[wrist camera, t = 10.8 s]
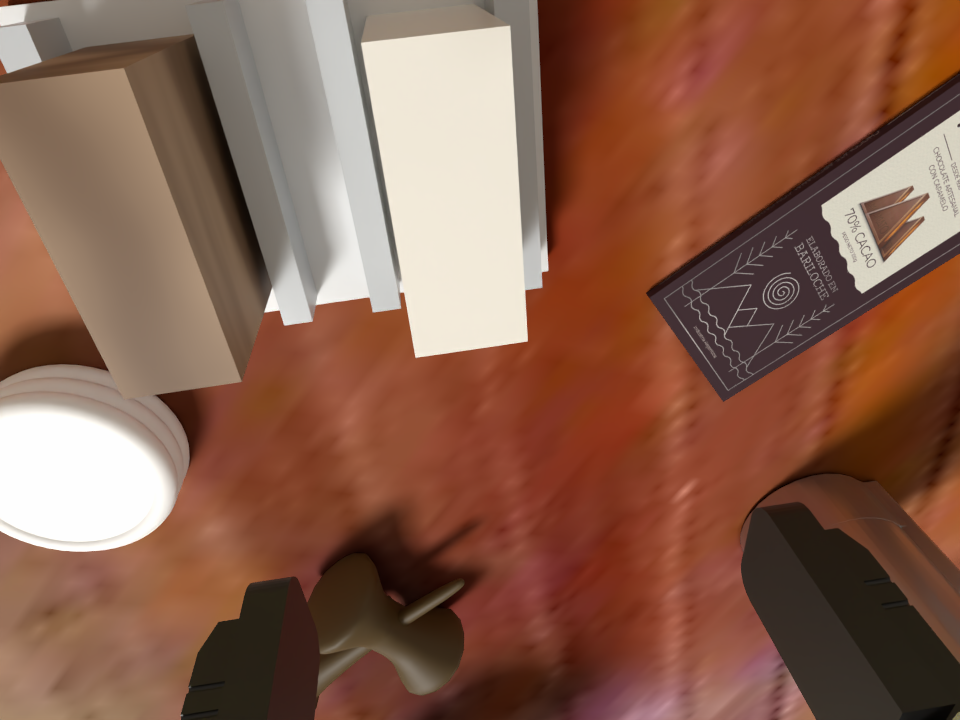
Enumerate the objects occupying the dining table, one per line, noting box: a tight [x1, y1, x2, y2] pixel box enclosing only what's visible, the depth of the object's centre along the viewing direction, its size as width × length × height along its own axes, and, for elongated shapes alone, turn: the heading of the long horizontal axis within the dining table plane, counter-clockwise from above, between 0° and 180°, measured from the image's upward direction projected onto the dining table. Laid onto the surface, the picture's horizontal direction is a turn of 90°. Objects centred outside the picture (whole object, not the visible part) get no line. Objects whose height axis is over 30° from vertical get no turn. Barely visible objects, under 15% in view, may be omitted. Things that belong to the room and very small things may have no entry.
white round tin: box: [0, 364, 190, 551], centre depth 32 cm, size 10×10×4 cm
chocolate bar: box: [646, 73, 960, 402], centre depth 33 cm, size 9×1×18 cm
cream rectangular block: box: [361, 4, 528, 358], centre depth 23 cm, size 4×10×8 cm, turn 5°
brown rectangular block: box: [0, 34, 272, 399], centre depth 22 cm, size 4×10×8 cm, turn 5°
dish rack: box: [0, 0, 548, 325], centre depth 25 cm, size 19×13×4 cm
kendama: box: [307, 553, 465, 709], centre depth 42 cm, size 6×10×20 cm
